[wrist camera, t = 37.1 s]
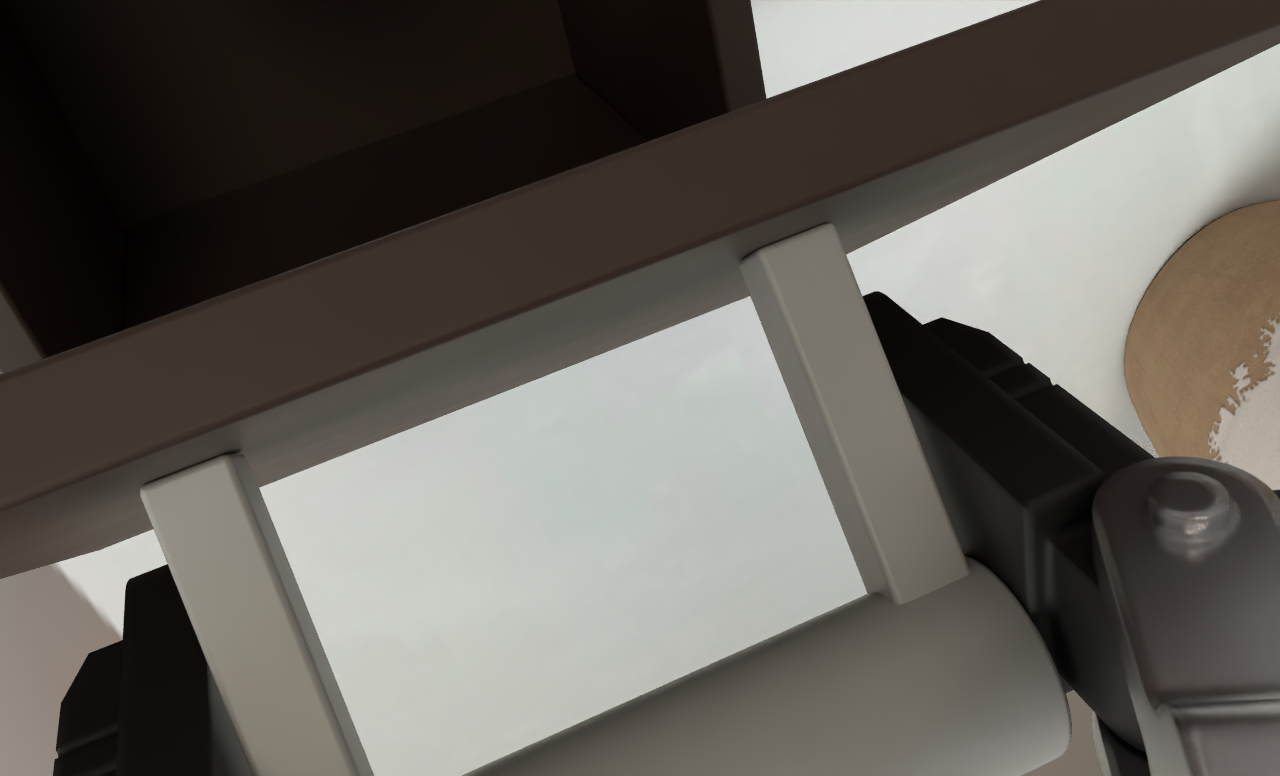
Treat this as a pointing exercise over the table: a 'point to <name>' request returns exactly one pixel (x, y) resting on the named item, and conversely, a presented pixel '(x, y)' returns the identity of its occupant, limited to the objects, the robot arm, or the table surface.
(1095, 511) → the robot arm
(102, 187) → the chest
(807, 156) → the lid
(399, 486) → the table surface
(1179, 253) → the vase
